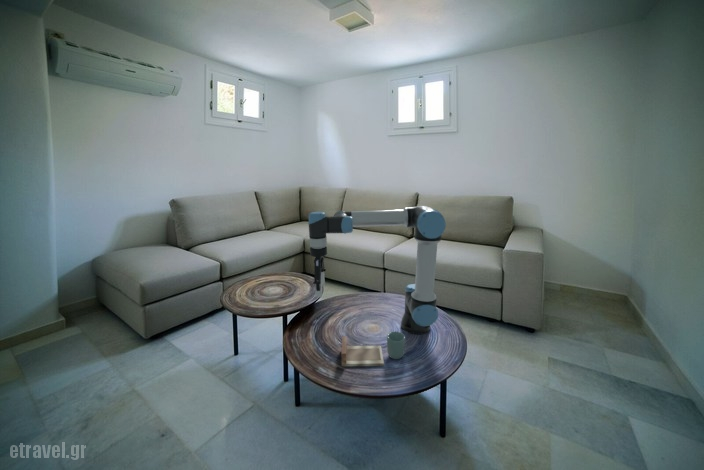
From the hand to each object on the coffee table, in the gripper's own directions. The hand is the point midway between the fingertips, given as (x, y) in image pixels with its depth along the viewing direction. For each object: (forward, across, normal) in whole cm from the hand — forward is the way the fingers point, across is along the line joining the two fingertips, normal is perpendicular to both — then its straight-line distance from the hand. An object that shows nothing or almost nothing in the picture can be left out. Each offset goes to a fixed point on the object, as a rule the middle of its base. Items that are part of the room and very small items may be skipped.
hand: (320, 290), depth 140 cm
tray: (+27, +11, +19) cm, 35 cm away
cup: (+28, +11, +34) cm, 45 cm away
